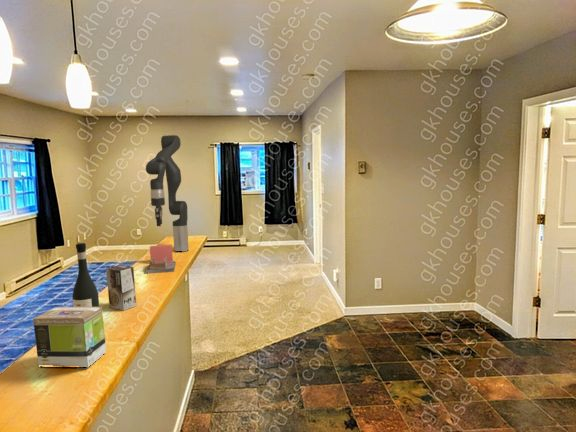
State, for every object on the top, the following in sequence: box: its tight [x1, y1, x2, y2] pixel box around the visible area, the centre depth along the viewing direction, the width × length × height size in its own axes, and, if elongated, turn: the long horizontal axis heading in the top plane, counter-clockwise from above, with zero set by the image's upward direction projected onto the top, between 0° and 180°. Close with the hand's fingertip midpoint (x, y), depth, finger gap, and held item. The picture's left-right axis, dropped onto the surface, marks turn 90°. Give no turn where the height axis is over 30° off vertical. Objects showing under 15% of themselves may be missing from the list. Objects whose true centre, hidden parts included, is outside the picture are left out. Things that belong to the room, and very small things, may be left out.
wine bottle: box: [72, 242, 100, 307], centre depth 139 cm, size 8×8×30 cm
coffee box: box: [105, 264, 137, 311], centre depth 161 cm, size 9×6×16 cm
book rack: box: [145, 257, 177, 275], centre depth 222 cm, size 18×14×6 cm
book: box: [149, 244, 174, 263], centre depth 236 cm, size 4×12×10 cm, turn 103°
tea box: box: [32, 306, 107, 367], centre depth 116 cm, size 15×10×15 cm, turn 84°
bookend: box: [164, 256, 173, 268], centre depth 223 cm, size 10×4×4 cm, turn 13°
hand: (159, 225), depth 234 cm, fingers open, 8 cm apart
